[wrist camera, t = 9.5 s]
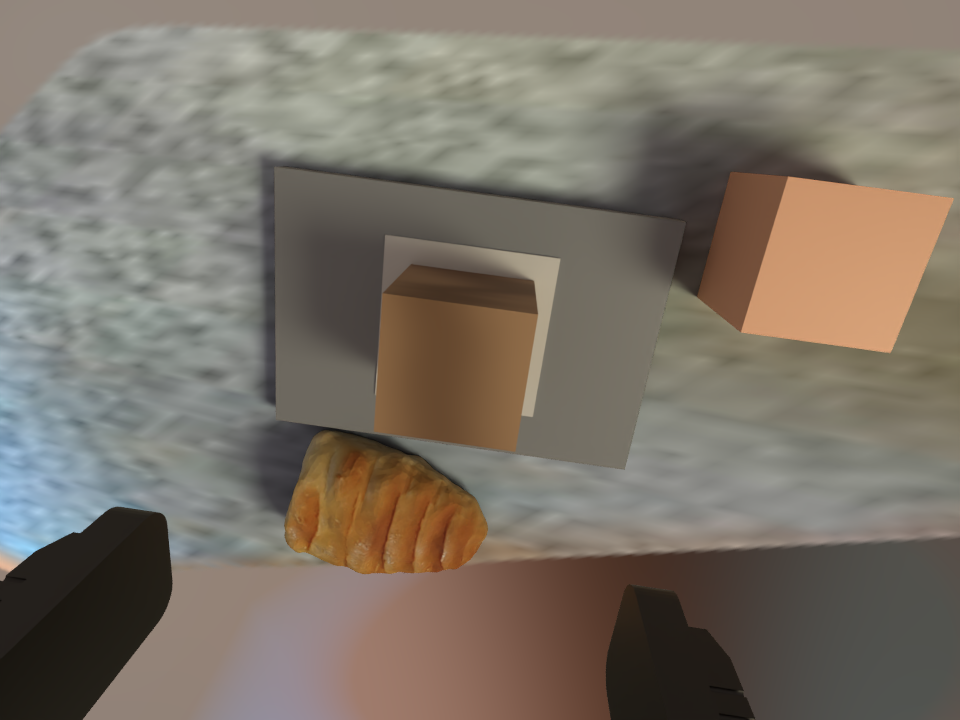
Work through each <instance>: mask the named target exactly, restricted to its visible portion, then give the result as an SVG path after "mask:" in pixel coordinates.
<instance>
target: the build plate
mask: <svg viewBox="0 0 960 720" xmlns="http://www.w3.org/2000/svg"><path fill="white" fill-rule="evenodd" d="M274 206H275V354H276V420H281V421H288V422H295V423H302V424H309V425H316V426H323V427H330V428H337V429H344V430H351V431H358V432H365V433H372V434H379V435H386V436H393V437H400V438H407V439H414V440H421V441H428V442H435V443H442V444H449V445H456V446H463V447H470V448H477V449H484V450H491V451H498V452H505V453H512V454H519V455H526V456H533V457H540V458H547V459H554V460H561V461H568V462H575V463H582V464H589V465H596V466H603V467H610V468H617V469H624V470H625V466H626V462H627V458H628V454H629V450H630V446H631V442H632V438H633V434H634V430H635V426H636V422H637V418H638V414H639V410H640V406H641V402H642V398H643V394H644V390H645V386H646V382H647V378H648V374H649V370H650V366H651V362H652V358H653V354H654V350H655V346H656V342H657V338H658V334H659V330H660V326H661V322H662V318H663V314H664V310H665V306H666V302H667V298H668V294H669V290H670V286H671V282H672V278H673V274H674V270H675V266H676V262H677V258H678V254H679V250H680V246H681V242H682V238H683V234H684V230H685V226H686V222H685V221H682V220H680V219H673V218H666V217H658V216H651V215H644V214H636V213H629V212H621V211H614V210H606V209H599V208H591V207H584V206H577V205H569V204H562V203H554V202H547V201H539V200H532V199H524V198H517V197H510V196H502V195H495V194H487V193H480V192H472V191H465V190H457V189H450V188H443V187H435V186H428V185H420V184H413V183H405V182H398V181H390V180H383V179H375V178H368V177H361V176H353V175H346V174H338V173H331V172H323V171H316V170H308V169H301V168H294V167H286V166H280V167H274ZM411 264H414V265H422V266H429V267H436V268H444V269H451V270H458V271H466V272H473V273H480V274H488V275H495V276H502V277H510V278H517V279H524V280H532V281H534V283H535V292H536V300H537V309H538V319H537V325H536V331H535V337H534V343H533V349H532V355H531V361H530V367H529V373H528V379H527V385H526V391H525V397H524V403H523V409H522V415H521V421H520V427H519V433H518V439H517V445H516V451H515V452H513V451H506V450H499V449H492V448H485V447H478V446H471V445H464V444H457V443H450V442H443V441H436V440H429V439H421V438H414V437H407V436H400V435H393V434H386V433H379V432H374V420H375V404H376V388H377V372H378V356H379V340H380V324H381V308H382V293H383V292H384V291H385V290H386V289H387V288H388V287H389V286H390V285H391V284H392V283H393V282H394V281H395V280H396V279H397V278H398V277H399V276H400V275H401V274H402V273H403V272H404V271H405V270H406V269H407V268H408V267H409V266H410V265H411Z"/></svg>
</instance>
